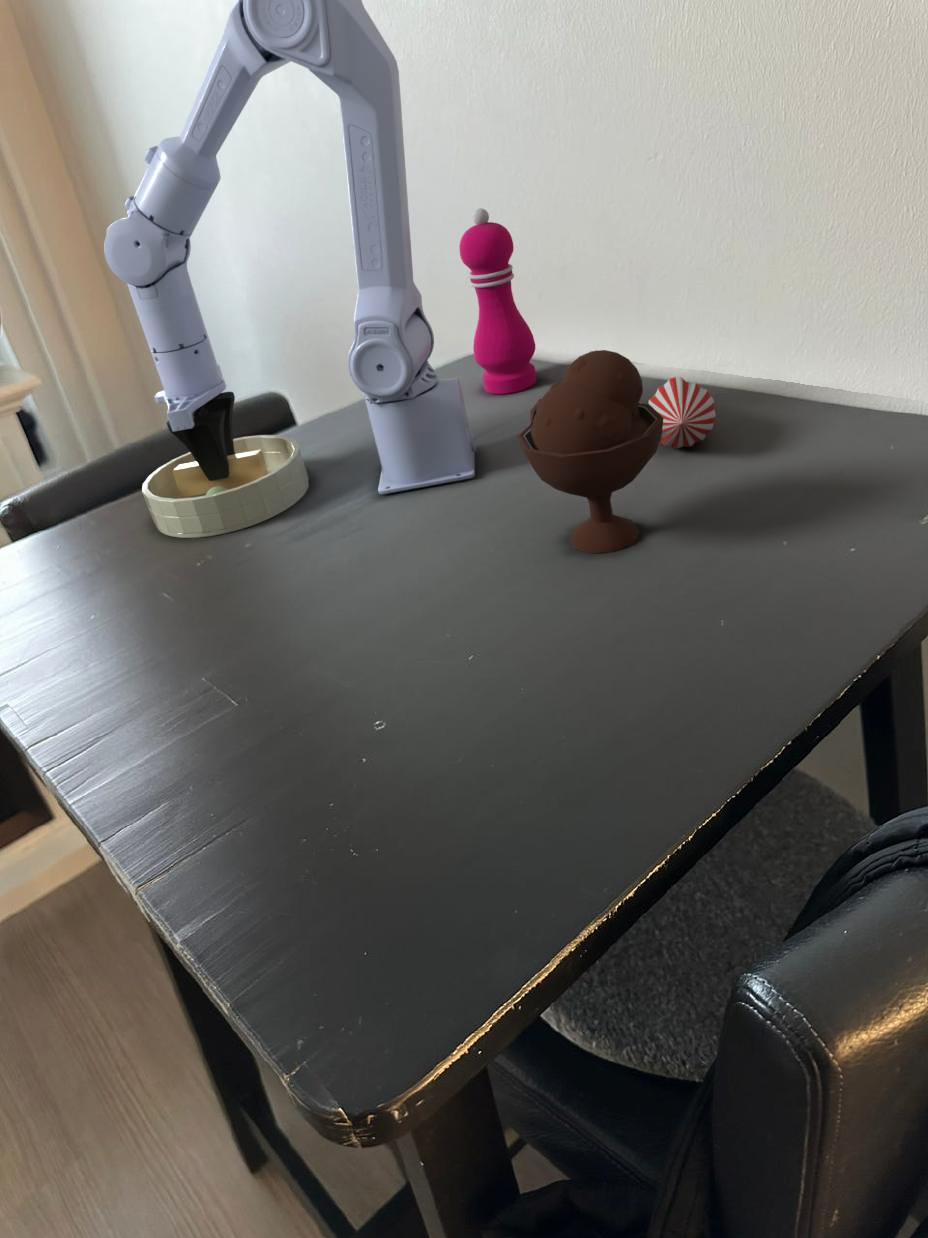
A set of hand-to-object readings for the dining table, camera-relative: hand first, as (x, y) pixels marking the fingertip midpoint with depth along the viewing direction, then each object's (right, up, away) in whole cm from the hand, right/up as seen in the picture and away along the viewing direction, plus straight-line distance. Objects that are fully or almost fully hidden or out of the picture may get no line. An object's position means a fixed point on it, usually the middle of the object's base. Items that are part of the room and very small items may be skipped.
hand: (222, 472), depth 106 cm
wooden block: (0, -2, +1) cm, 2 cm away
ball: (+1, -3, -4) cm, 6 cm away
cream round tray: (+1, -3, 0) cm, 3 cm away
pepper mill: (+31, +12, +15) cm, 36 cm away
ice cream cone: (+46, +2, -8) cm, 47 cm away
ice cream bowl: (+36, -9, -23) cm, 44 cm away
